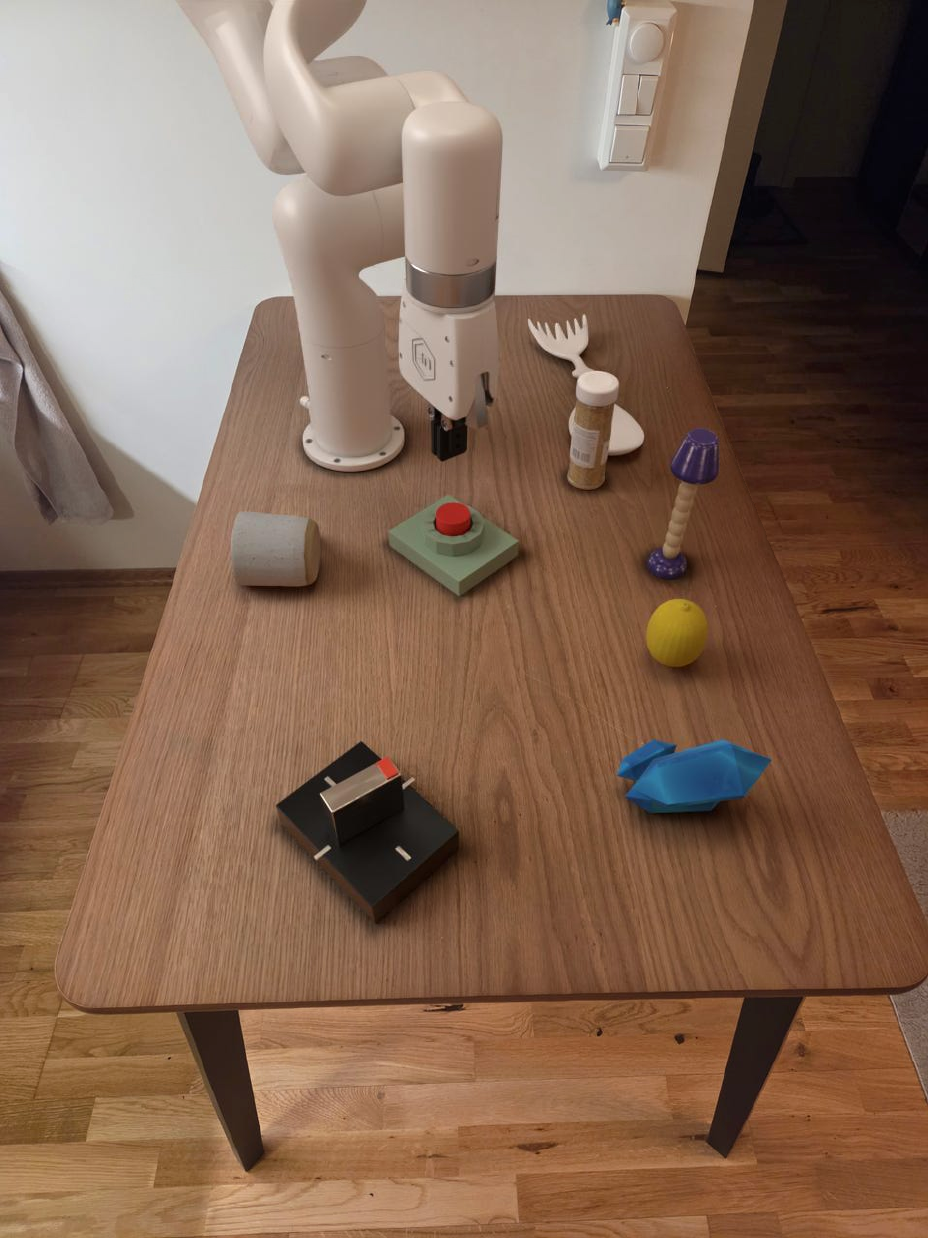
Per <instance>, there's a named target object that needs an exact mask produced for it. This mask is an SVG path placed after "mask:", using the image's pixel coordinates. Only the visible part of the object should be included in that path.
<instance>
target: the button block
mask: <svg viewBox="0 0 928 1238" xmlns="http://www.w3.org/2000/svg"><path fill="white" fill-rule="evenodd" d="M451 502H456V503H461V504H463V505H465V506H466V507H468V509H469V510H470V529H469V530H468V532H466V533H465V534H463V535H459V536H453V537H452V536H447V535H443V534H441V533H440V532H439V531H438V530H437V527H436V511H437V509H438V508H439V507H440V506H441V505H443V504H446V503H451ZM388 543H389V545H388V546H389V547H391V548H392V549H393V550H394V551H396V552H398V554H400V555H402V556H403V557H404V558H405V559H407V560H409V561H410V562H411V563H412V564H414V565H415V566H416V567H418V568H419V569H421V570H422V571H423V572H425V573H426V574H428V575H429V576H430V577H432V578H433V579H434V580H436V581H437V582H439V583H440V584H441V585H442V586H443V587H446V588H447V589H448V590H449V591H451V592H452V593H453V594H455V595H456V596H458V597H461V596H462V595H464V594H465V593H467V592H468V591H469V590H471V589H472V588H474V587H475V586H477V585H478V584H479V583H481V582H482V581H484V580H485V579H487V578H488V577H489V576H491V575H492V574H493V573H495V572H496V571H498V570H499V569H501V568H503V566H505V565H506V564H508V563H509V562H511V561H512V560H515V558H517V557H518V556H519V545H520V540H519V539H518V538H516V537H514V536H512V535H511V534H510V533H508V532H506V530H504V529H502V528H500V527H499V526H497V525H496V524H494V523H493V522H492V521H490V520H488V519H487V518H485V517H484V516H482V513H481V512H480V511H478V510H477V509H475V508H473V507H472V506H471V505H468V504H464V503H463V502H461V501H460V500H458V499H456V498H454V497H453V496H452V495H450V494H446V495H444V496H443V497H441V498H440V499H438V500H436V501H434V502H433V503H432V504H430V505H428V506H426V507H425V508H424V509H422V510H420V511H418V512H417V513H415V514H414V515H412V516H410V517H409V518H407V519H405V520H404V521H402V522H400V523H399V524H397V525H395V526H394V527H392V528H391V529H389V530H388Z"/></svg>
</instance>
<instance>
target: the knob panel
mask: <svg viewBox="0 0 928 1238" xmlns="http://www.w3.org/2000/svg"><path fill="white" fill-rule="evenodd" d="M382 759H383V758H381V757H380V756H379V755H378V754H377V753H375V752H374V750H372V749H371V748H370V747H369V746H368V745H367V744H366V743H365V742H364V741H362V740H360V741H359V742H357V743H356V744H355V745H354V746H352V747H351V748H350V749H348V750H347V751H346V752H344V753H343V754H342V755H340V756H339V757H338V758H336V759H335V760H333V762H331V763H330V764H328V765H327V766H326V767H324V768H323V769H322V770H320V771H319V772H317V773H316V774H315V775H314V776H312V777H311V778H310V779H309V780H307V781H305V782H304V783H303V784H302V785H301V786H299V787H298V788H297V789H295V790H294V791H293V792H291V793H290V794H289V795H287V796H286V797H285V798H283V799H282V800H280V801H279V802H278V803H276V805H275V808H276V811H277V815H278V818H279V821H280V824H281V826H282V827H283V828H284V829H285V830H286V831H287V832H288V833H289V834H290V835H291V836H292V838H293V839H295V841H296V842H297V843H298V844H299V845H300V846H301V847H302V848H303V849H304V850H305V851H306V852H307V854H308V855H309V856H310V857H311V858H312V859H313V860H314V861H315V862H316V863H317V864H318V865H319V866H320V867H321V868H322V869H323V871H324V872H326V874H327V875H328V876H329V877H330V878H331V879H332V880H333V881H334V883H336V884H337V886H338V887H339V888H340V889H341V890H342V891H343V892H344V893H345V894H346V895H347V896H348V897H349V898H350V899H351V900H352V901H353V903H355V905H356V906H357V907H358V908H359V909H360V910H361V911H362V912H363V914H364V915H366V916H367V918H368V919H369V920H370V921H371V922H372V923H373V924H374V925H376V924H377V923H378V922H380V921H381V920H382V919H383V918H384V917H385V916H386V915H387V914H388V913H390V912H391V911H392V910H393V909H394V908H395V907H397V905H398V904H399V903H401V902H402V901H403V900H404V899H405V898H406V897H407V896H409V895H410V894H411V893H412V892H413V891H414V890H415V889H416V888H417V887H419V885H421V884H422V883H423V882H424V881H425V880H426V879H427V878H428V877H430V876H431V875H432V874H433V873H434V872H435V871H437V869H439V867H441V866H442V865H443V864H444V863H445V862H447V860H449V859H450V858H451V857H452V856H453V855H454V854H456V852H458V851H459V850H460V830H459V829H458V828H457V827H456V826H455V825H453V824H452V823H451V822H450V821H449V820H448V819H447V818H446V817H445V816H444V815H443V814H442V813H441V812H440V811H439V810H437V809H436V808H435V806H433V805H432V804H431V803H430V802H429V801H427V800H426V798H425V797H423V796H422V795H421V794H420V793H419V792H418V791H417V790H416V789H415V788H413V787H412V786H411V785H412V784H413V783H414V782H415V781H416V779H415V777H412V776H411V777H410V778H409V779H408V780H407V781H406V780H405V779H403V778H402V784H403V795H404V806H405V808H404V809H402V810H400V811H398V812H397V813H395V814H393V815H391V816H390V817H388V818H386V819H384V820H383V821H381V822H379V823H377V824H376V825H374V826H372V827H370V828H369V829H367V830H365V831H363V832H362V833H360V834H358V835H356V836H355V837H353V838H351V839H349V840H348V841H346V842H344V843H342V844H341V845H338V844H337V842H336V840H335V839H334V837H333V836H332V834H331V832H330V831H329V829H328V828H327V824H326V819H325V815H324V810H323V806H322V801H321V797H320V793H322V792H323V791H325V790H327V789H329V788H331V787H333V786H334V785H336V784H338V783H340V782H342V781H344V780H346V779H347V778H349V777H351V776H353V775H355V774H357V773H359V772H360V771H362V770H364V769H366V768H368V767H370V766H372V765H373V764H375V763H376V762H378V761H380V760H382Z"/></svg>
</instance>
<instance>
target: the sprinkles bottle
mask: <svg viewBox="0 0 928 1238" xmlns="http://www.w3.org/2000/svg"><path fill="white" fill-rule="evenodd" d="M619 390H620V382H619V379H618V378H617V377H616V376H615V375H614V374H611V373H609V372H606V371H602V370H594V371H590V372H586V373H584V374H582V375H581V376H580V377H579V378H577V380H576V388H575V397H576V402H575V407H576V409H575V416H574V422H573V431H572V436H571V439H570V440H571V441H570V450H569V466H568V471H567V475H566V478H567V479H566V480H567V481H568V483H569V484H570V485H571V486H573V487H575V488H577V489H580V490H583V491H590V490H596V489H599V488H600V487H601V486H602V485H603V484H604V483H605V481H606V480H605V479H606V475H605V473H606V467H607V460H608V456H609V455H608V450H609V442H610V435H611V425H612V417H613V411H614V404H616V401H617V399H618V396H619Z"/></svg>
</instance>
